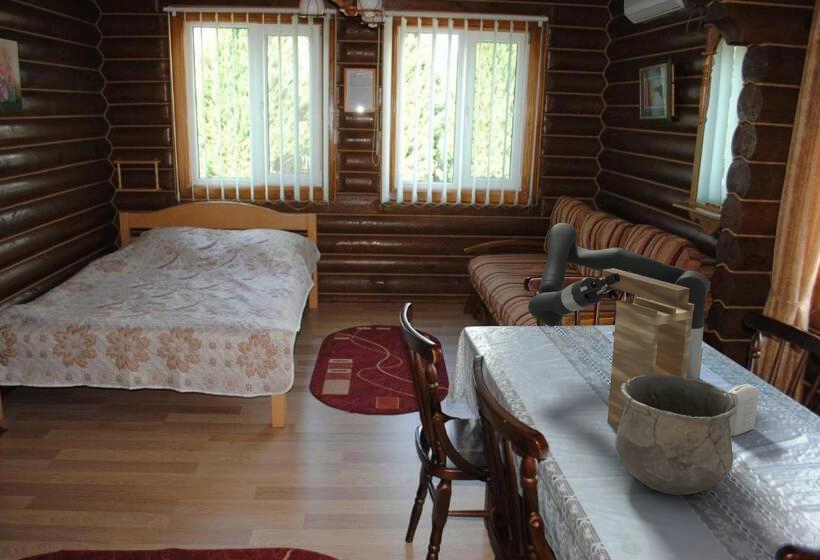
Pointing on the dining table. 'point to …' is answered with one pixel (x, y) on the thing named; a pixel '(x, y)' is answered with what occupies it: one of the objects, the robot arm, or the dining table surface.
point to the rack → (647, 345)
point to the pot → (675, 433)
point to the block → (649, 288)
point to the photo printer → (744, 408)
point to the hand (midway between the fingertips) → (624, 275)
